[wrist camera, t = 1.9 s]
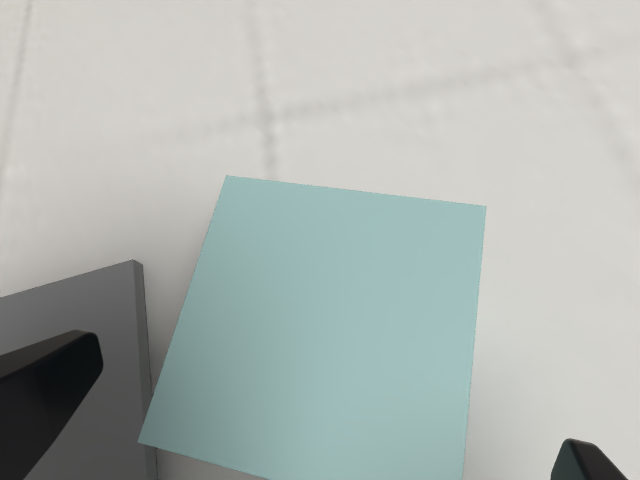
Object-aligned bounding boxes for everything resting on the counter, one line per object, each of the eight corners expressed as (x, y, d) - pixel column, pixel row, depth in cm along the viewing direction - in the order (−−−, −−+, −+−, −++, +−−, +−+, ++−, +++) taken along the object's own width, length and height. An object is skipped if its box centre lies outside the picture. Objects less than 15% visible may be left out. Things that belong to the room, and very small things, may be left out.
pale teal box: (421, 467, 15) (457, 533, 7) (264, 427, 16) (138, 441, 8) (440, 305, 17) (486, 206, 9) (299, 280, 18) (225, 175, 10)
